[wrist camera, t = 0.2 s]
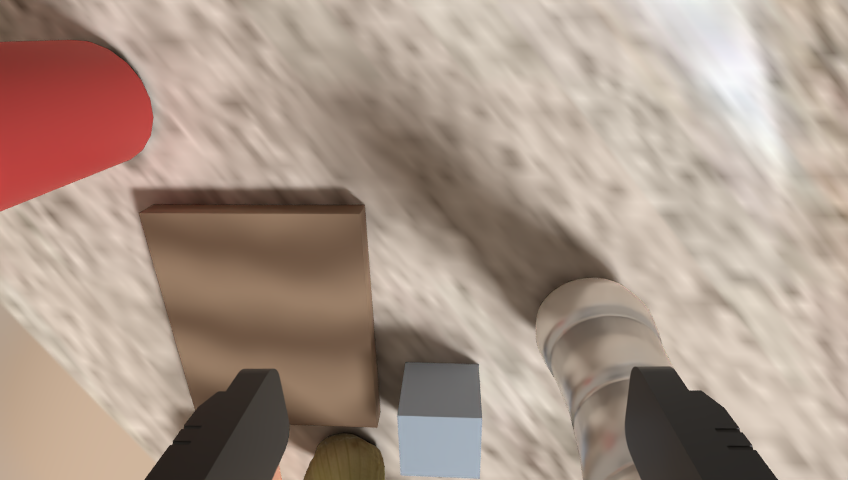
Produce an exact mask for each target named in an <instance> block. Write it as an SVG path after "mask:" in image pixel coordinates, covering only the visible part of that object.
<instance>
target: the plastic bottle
mask: <svg viewBox="0 0 848 480" xmlns="http://www.w3.org/2000/svg"><path fill="white" fill-rule="evenodd" d="M536 342H537V346H538V349H539V351H540V353H541V356H542V358H543V360H544V362H545V364H546V365H547V367H548V369H549V370H550V372H551V374H552V375H553V377H554V378H555V380H556V382H557V385H558V387H559V389H560V392H561V394H562V396H563V399H564V401H565V404H566V406H567V408H568V411H569V413H570V417H571V421H572V425H573V429H574V434H575V438H576V443H577V447H578V451H579V455H580V460H581V468H582V476H583V480H641V478H640V476H639V474H638V471H637V469H636V467H635V464H634V462H633V460H632V457H631V455H630V452H629V450H628V446H627V442H626V436H625V415H626V406H627V398H628V390H629V382H630V374H631V370H632V368H633V367H639V366H670V367H672V368H673V366H672V364H671V362H670V360H669V358H668V356H667V354H666V352H665V350H664V348H663V346H662V342H661V338H660V334H659V331H658V329H657V327H656V324H655V322H654V320H653V317H652V315H651V313H650V311H649V309H648V308H647V306H646V305H645V304H644V303H643V302H642V301H641V300H640V299H639V298H638V297H637V296H636V295H634V294H633V293H632V292H631V291H630V290H628V289H627V288H626V287H624V286H623V285H621V284H619V283H617V282H615V281H611V280H608V279H603V278H582V279H578V280H573V281H570V282H568V283H566V284H563V285H562V286H560V287H558V288H557V289H555V290H554V291H553V292H551V293H550V294H549V295H548V296H547V297H546V298H545V300H544V301H543V302H542V304H541V306H540V308H539V310H538V313H537V318H536ZM673 369H674V368H673Z"/></svg>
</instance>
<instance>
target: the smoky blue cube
mask: <svg viewBox="0 0 848 480" xmlns="http://www.w3.org/2000/svg"><path fill="white" fill-rule="evenodd" d="M397 418H398V435H399V453H400V470H401V475H404V476H428V477H453V478H478V479H480V459H481V433H482V409H481V394H480V379H479V364H454V363H415V362H406V363H405V369H404V376H403V382H402V389H401V395H400V402H399V408H398V415H397Z"/></svg>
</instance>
